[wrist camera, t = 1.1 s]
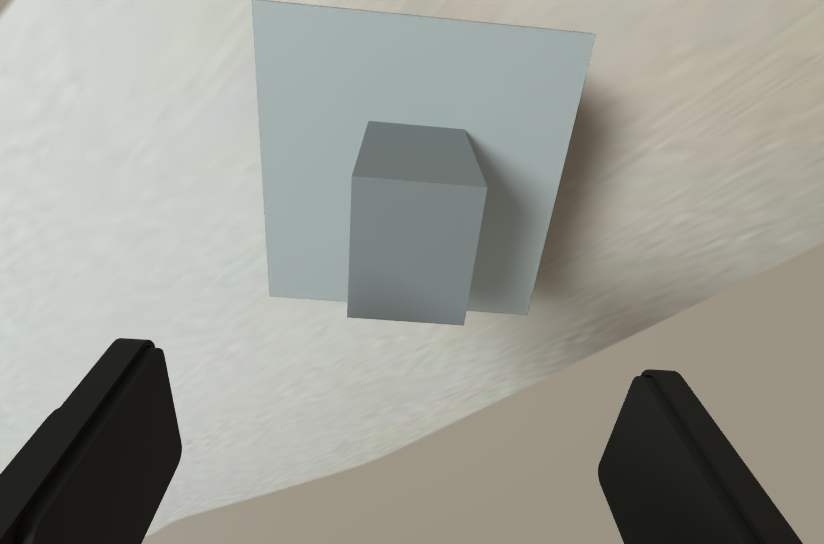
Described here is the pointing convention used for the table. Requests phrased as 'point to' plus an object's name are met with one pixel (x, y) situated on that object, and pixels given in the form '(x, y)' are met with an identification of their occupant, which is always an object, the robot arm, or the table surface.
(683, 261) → the table surface
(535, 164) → the lid
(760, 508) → the robot arm
